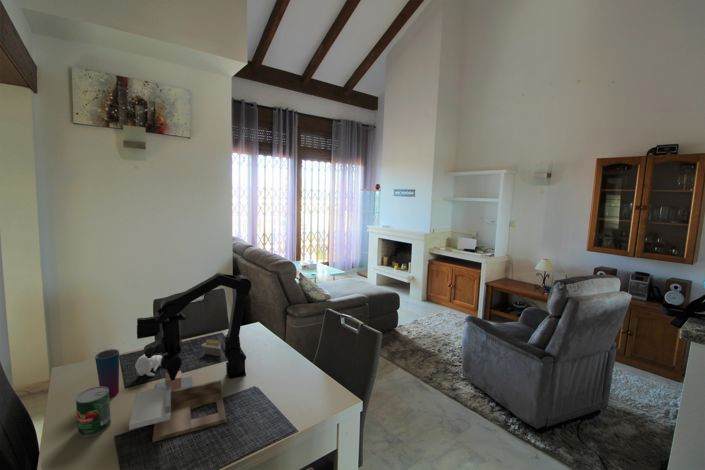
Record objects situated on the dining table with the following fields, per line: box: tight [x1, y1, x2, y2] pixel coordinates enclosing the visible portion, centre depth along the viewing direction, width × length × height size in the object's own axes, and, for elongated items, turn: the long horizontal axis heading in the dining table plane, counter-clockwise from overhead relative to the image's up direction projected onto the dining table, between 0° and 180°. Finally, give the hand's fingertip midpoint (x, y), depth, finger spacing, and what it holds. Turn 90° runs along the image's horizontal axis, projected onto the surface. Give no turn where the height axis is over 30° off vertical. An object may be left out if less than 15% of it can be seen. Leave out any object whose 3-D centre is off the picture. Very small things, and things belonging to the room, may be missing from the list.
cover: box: [128, 382, 171, 431], centre depth 102 cm, size 10×16×4 cm, turn 27°
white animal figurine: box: [134, 353, 163, 377], centre depth 132 cm, size 6×8×12 cm
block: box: [164, 370, 183, 390], centre depth 121 cm, size 5×5×5 cm
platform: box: [201, 339, 222, 357], centre depth 147 cm, size 12×18×7 cm, turn 77°
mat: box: [155, 375, 193, 388], centre depth 121 cm, size 12×12×1 cm
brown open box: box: [152, 379, 227, 443], centre depth 107 cm, size 20×16×6 cm
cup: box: [94, 348, 120, 399], centre depth 117 cm, size 7×7×15 cm
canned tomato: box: [75, 386, 112, 438], centre depth 100 cm, size 8×8×11 cm
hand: (173, 373), depth 120 cm, fingers open, 9 cm apart
